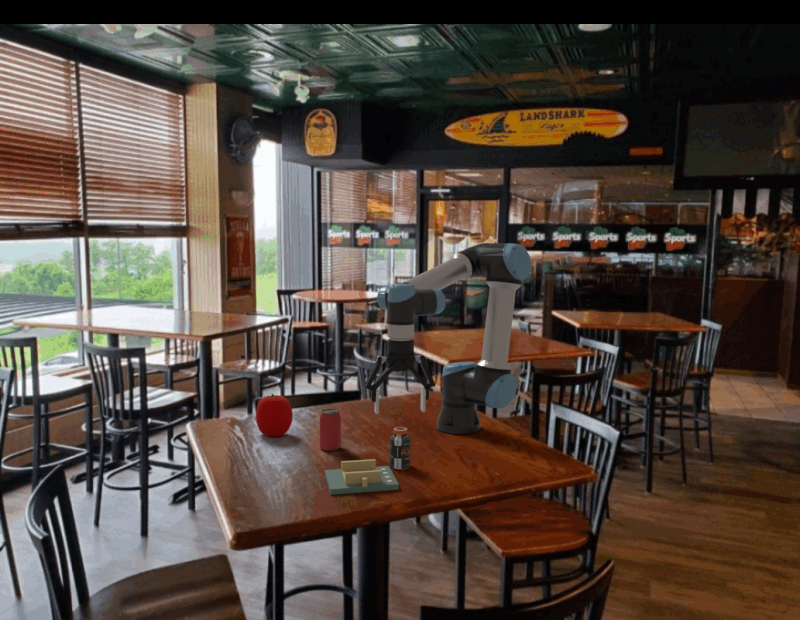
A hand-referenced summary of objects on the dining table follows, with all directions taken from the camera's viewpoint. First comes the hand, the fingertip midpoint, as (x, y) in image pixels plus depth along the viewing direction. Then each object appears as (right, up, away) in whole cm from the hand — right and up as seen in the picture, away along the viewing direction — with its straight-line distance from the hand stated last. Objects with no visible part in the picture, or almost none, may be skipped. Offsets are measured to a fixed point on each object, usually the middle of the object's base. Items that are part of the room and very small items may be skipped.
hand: (399, 411), depth 185 cm
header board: (-11, -17, -11) cm, 23 cm away
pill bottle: (0, -16, +2) cm, 16 cm away
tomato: (-42, -13, +30) cm, 53 cm away
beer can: (-22, -14, +18) cm, 31 cm away
